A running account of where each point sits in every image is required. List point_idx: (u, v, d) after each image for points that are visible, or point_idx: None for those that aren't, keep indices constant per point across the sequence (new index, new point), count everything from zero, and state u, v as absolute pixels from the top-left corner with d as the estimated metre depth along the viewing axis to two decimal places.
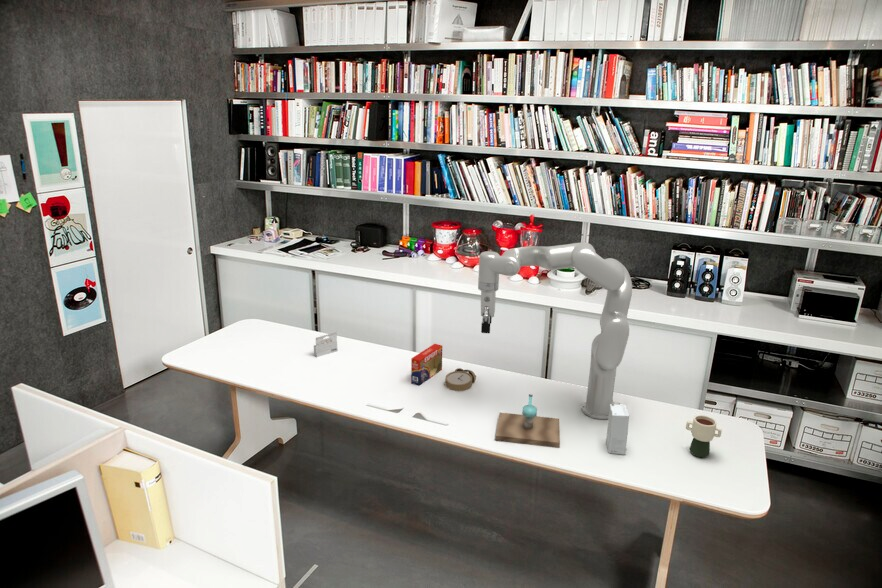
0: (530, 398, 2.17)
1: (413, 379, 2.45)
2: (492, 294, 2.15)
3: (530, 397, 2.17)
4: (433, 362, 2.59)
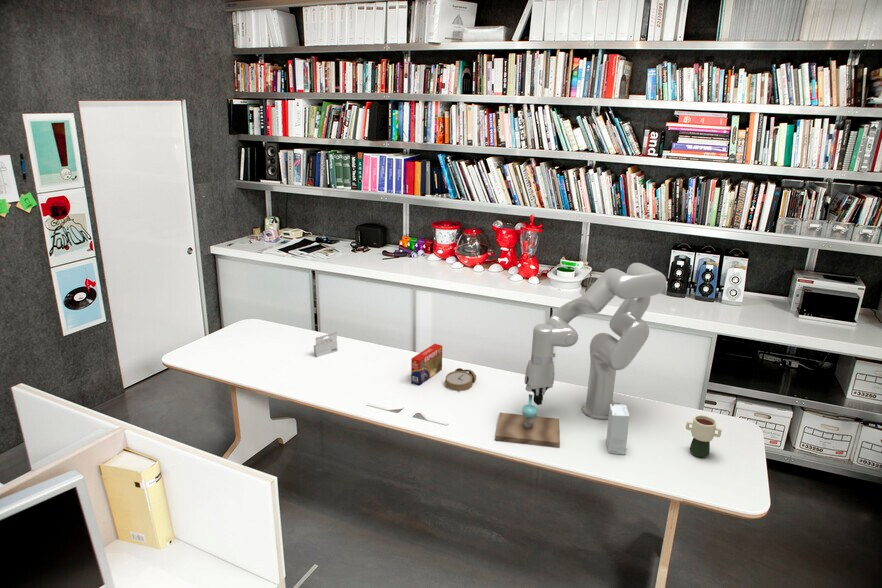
0: (530, 398, 2.17)
1: (413, 379, 2.45)
2: None
3: (530, 397, 2.17)
4: (433, 362, 2.59)
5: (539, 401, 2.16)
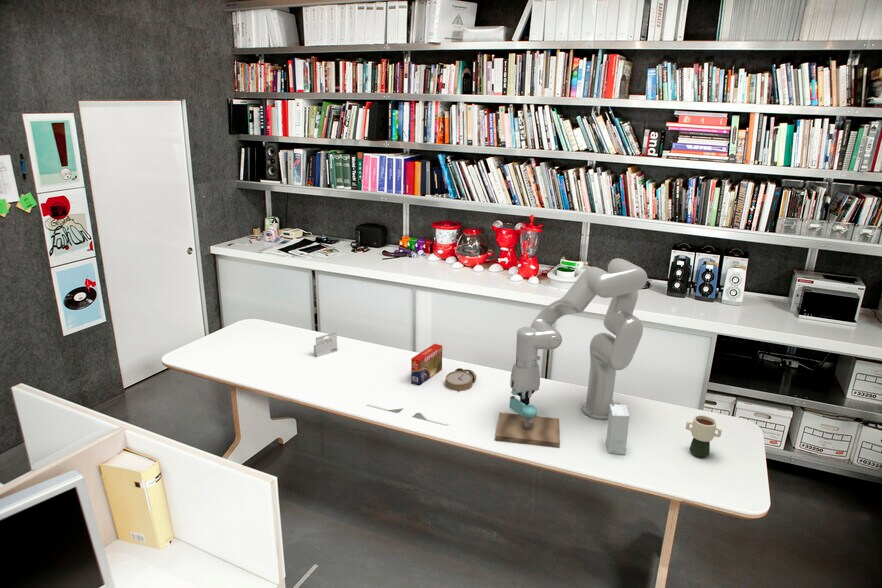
0: (516, 399, 2.15)
1: (413, 379, 2.45)
2: None
3: (514, 398, 2.16)
4: (433, 362, 2.59)
5: None
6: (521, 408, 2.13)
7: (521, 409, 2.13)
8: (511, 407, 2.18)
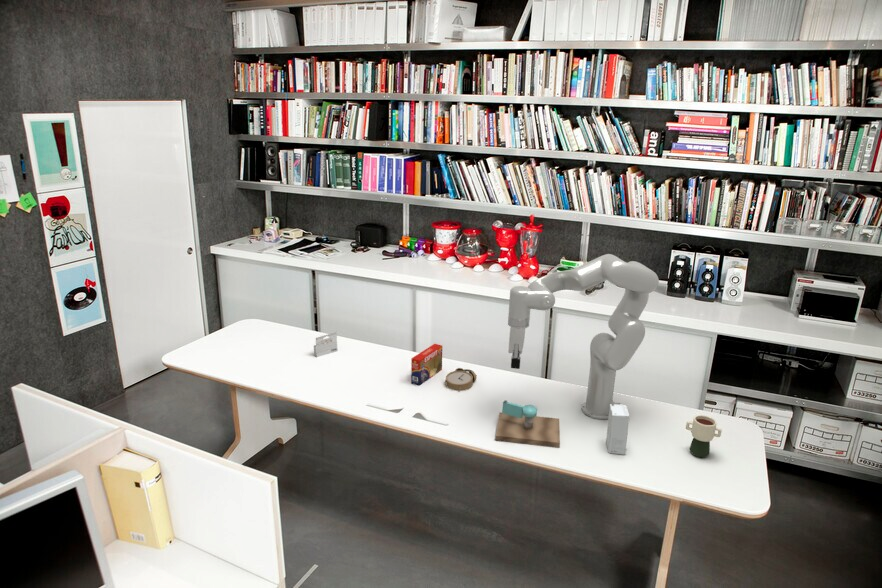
0: (510, 403, 2.13)
1: (413, 379, 2.45)
2: None
3: (508, 402, 2.13)
4: (433, 362, 2.59)
5: (519, 364, 2.15)
6: (519, 410, 2.11)
7: (519, 411, 2.11)
8: (505, 412, 2.14)
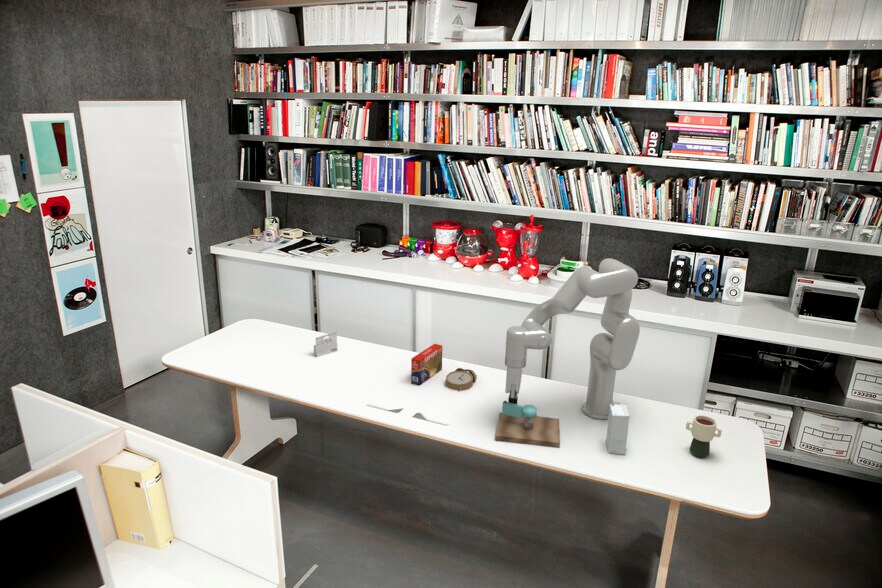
0: (510, 403, 2.13)
1: (413, 379, 2.45)
2: None
3: (508, 403, 2.13)
4: (433, 362, 2.59)
5: None
6: (519, 410, 2.11)
7: (519, 411, 2.11)
8: (504, 412, 2.14)
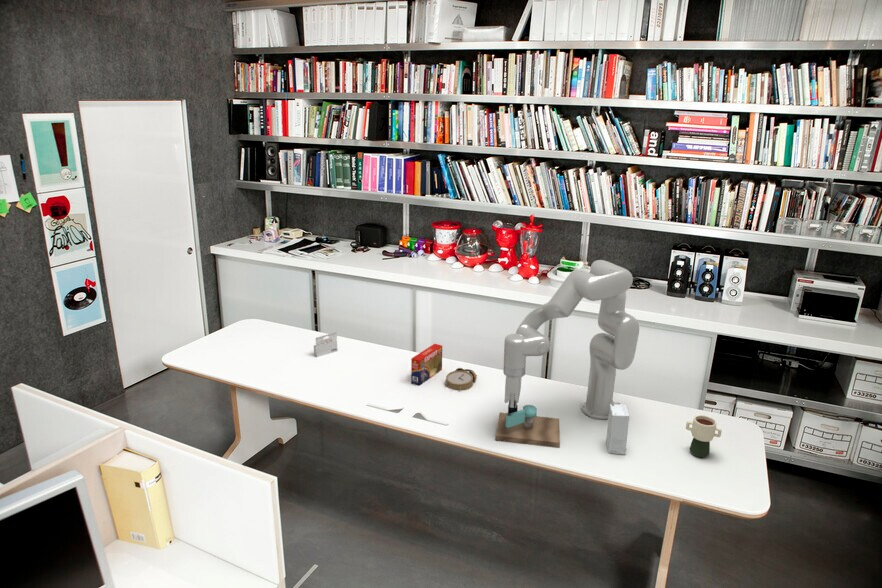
0: (513, 413, 2.06)
1: (413, 379, 2.45)
2: None
3: (511, 414, 2.06)
4: (433, 362, 2.59)
5: None
6: (522, 415, 2.08)
7: (522, 416, 2.08)
8: (510, 425, 2.06)
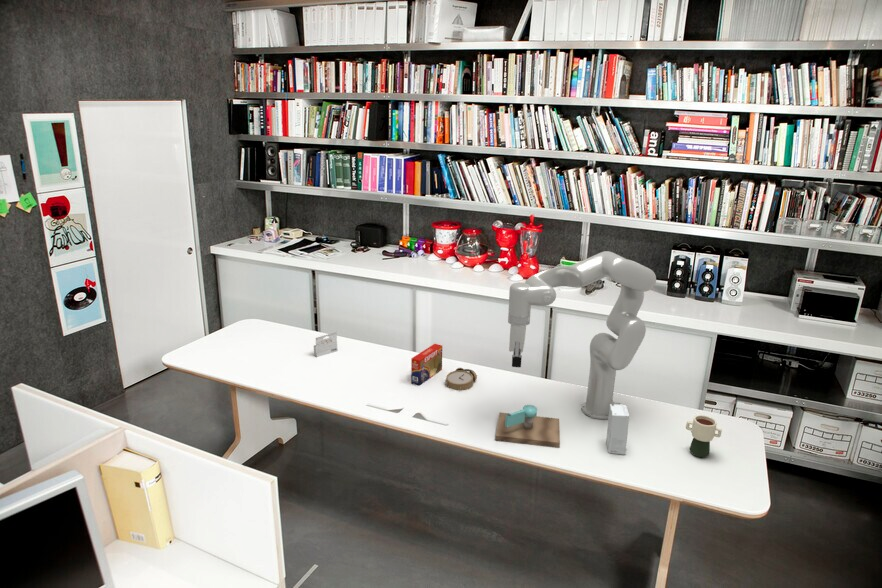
0: (513, 413, 2.06)
1: (413, 379, 2.45)
2: None
3: (511, 414, 2.06)
4: (433, 362, 2.59)
5: None
6: (522, 415, 2.08)
7: (522, 416, 2.08)
8: (509, 424, 2.06)
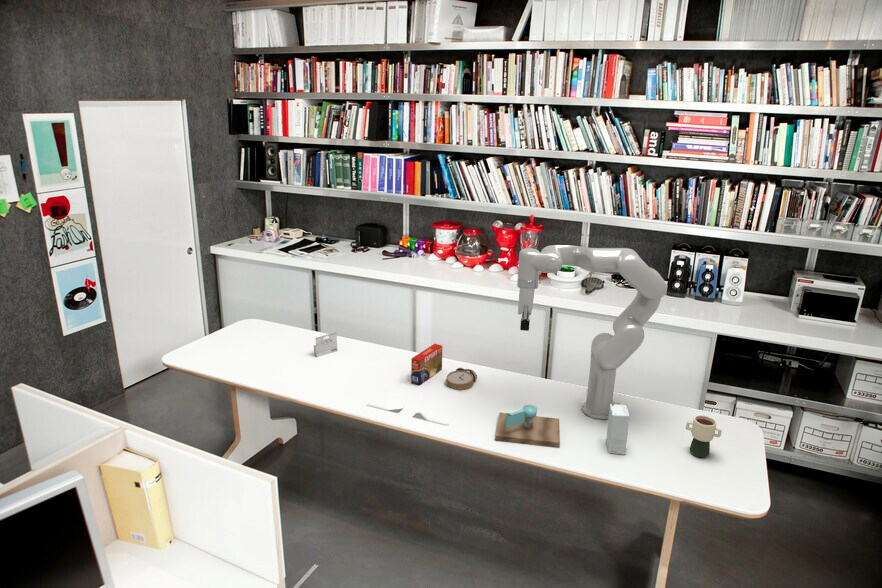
0: (513, 413, 2.06)
1: (413, 379, 2.45)
2: None
3: (511, 414, 2.06)
4: (433, 362, 2.59)
5: None
6: (522, 415, 2.08)
7: (522, 416, 2.08)
8: (509, 424, 2.06)
